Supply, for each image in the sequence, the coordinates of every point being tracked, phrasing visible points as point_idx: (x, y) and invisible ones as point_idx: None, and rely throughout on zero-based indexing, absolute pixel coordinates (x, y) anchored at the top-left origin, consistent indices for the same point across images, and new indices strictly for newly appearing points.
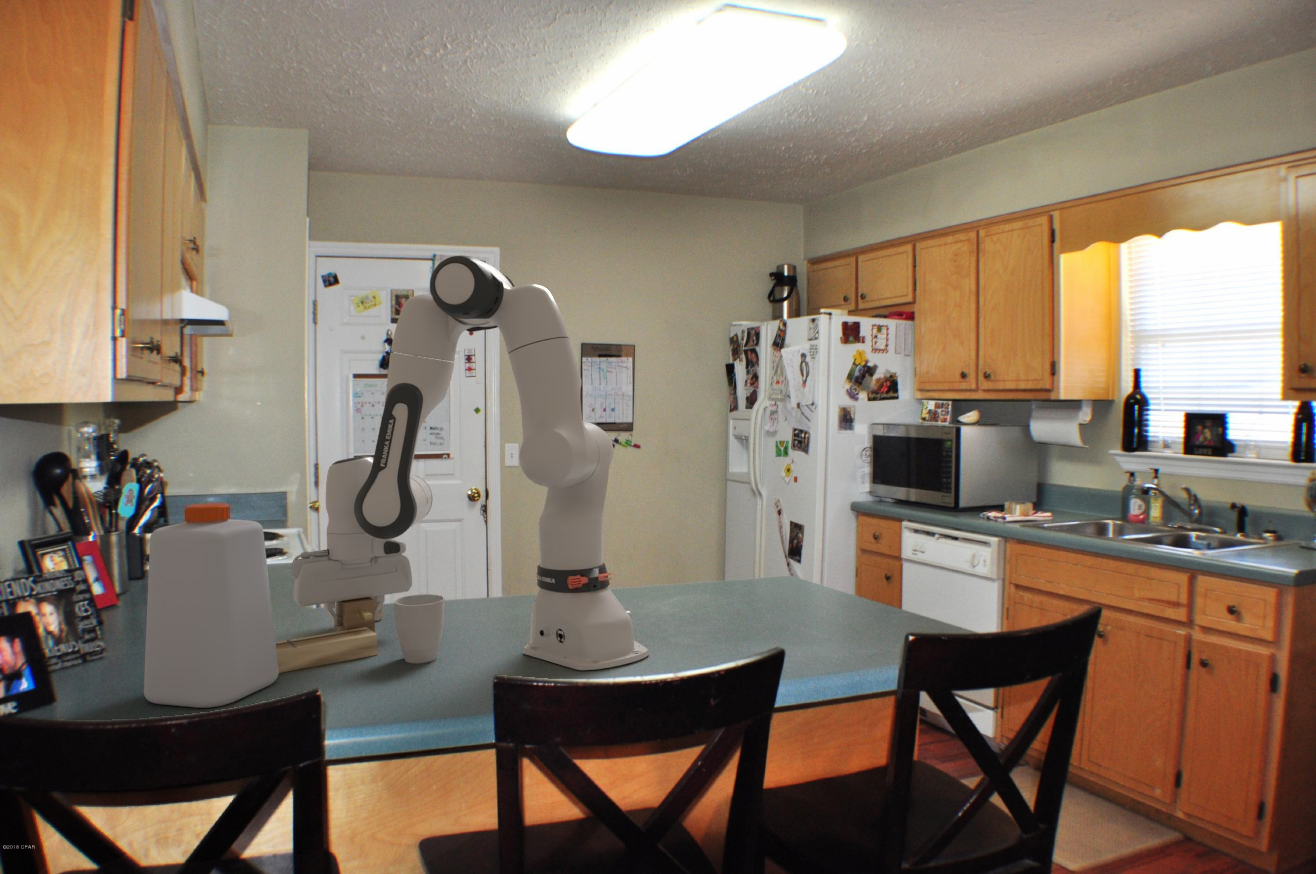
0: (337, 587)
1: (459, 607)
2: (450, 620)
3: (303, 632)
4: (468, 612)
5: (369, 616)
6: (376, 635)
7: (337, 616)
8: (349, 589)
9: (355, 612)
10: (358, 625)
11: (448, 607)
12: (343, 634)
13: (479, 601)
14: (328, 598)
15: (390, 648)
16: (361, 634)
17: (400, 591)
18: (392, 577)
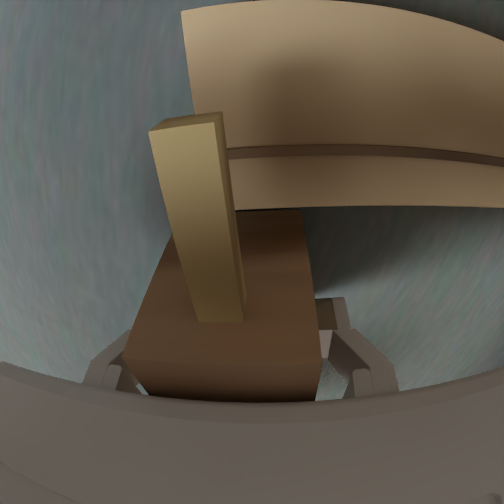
0: (364, 484)
1: (29, 356)
2: (15, 300)
3: (337, 382)
4: (4, 324)
5: (180, 124)
6: (186, 10)
7: (328, 339)
8: (273, 466)
9: (252, 309)
10: (242, 256)
11: (46, 367)
12: (365, 129)
13: (13, 360)
14: (414, 412)
15: (139, 96)
16: (271, 56)
17: (16, 369)
18: (13, 444)
